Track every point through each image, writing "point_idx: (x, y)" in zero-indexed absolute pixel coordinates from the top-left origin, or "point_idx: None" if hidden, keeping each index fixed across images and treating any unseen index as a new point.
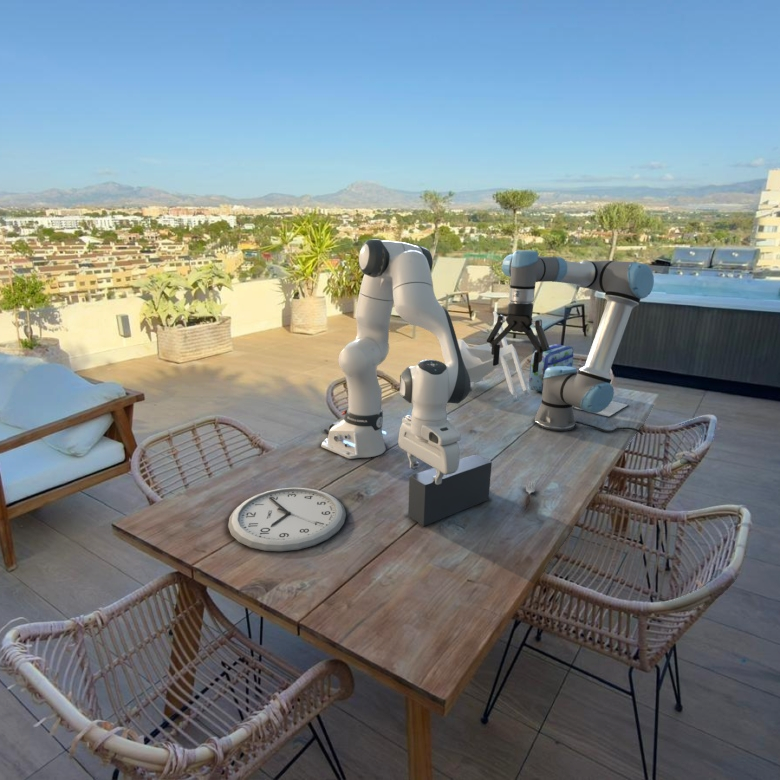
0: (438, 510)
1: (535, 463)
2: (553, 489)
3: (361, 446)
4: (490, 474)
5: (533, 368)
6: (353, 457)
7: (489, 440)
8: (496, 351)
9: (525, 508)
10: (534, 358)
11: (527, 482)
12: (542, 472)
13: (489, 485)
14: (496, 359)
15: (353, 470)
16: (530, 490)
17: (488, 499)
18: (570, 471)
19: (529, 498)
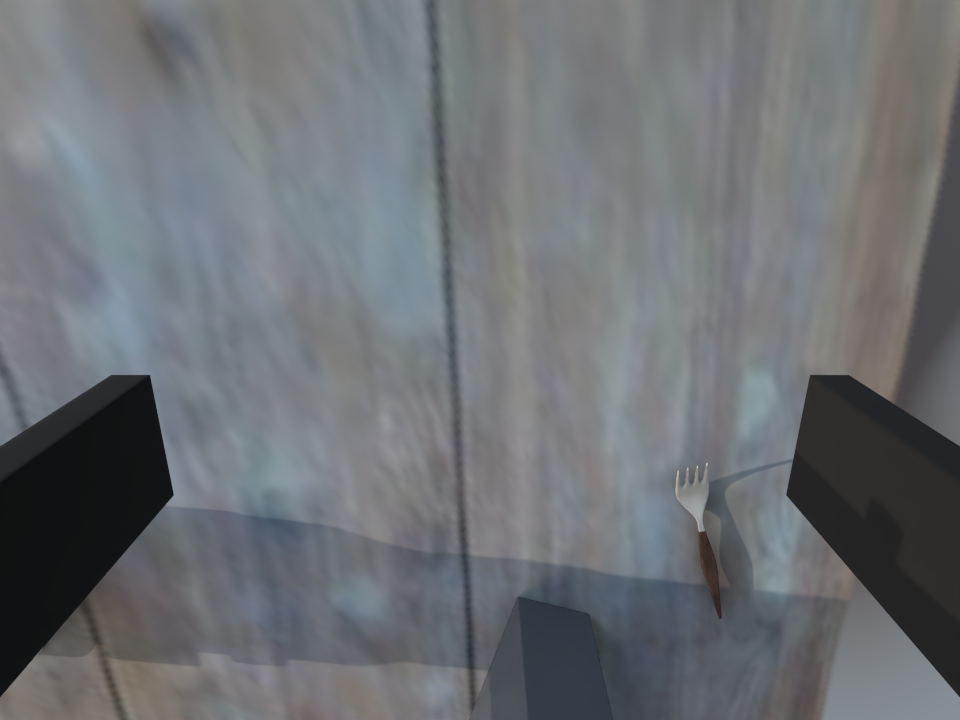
0: None
1: (634, 242)
2: (765, 426)
3: None
4: (606, 694)
5: (831, 535)
6: (39, 651)
7: (318, 113)
8: (3, 665)
9: (718, 615)
10: (955, 673)
11: (677, 479)
12: (689, 313)
13: (597, 657)
14: (112, 515)
15: (120, 699)
16: (694, 495)
17: (588, 616)
18: (801, 221)
19: (713, 560)
